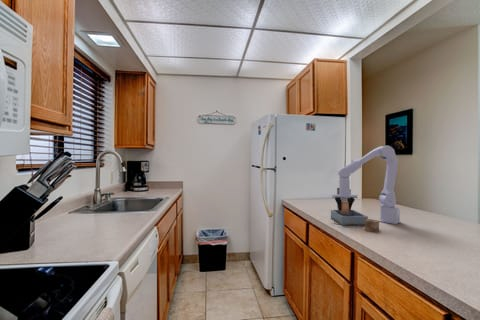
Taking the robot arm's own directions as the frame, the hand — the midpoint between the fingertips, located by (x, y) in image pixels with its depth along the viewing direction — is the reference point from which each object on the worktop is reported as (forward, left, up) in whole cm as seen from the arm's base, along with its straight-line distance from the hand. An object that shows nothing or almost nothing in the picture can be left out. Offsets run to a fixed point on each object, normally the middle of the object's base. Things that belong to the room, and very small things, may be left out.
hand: (344, 210), depth 148 cm
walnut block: (-19, +11, -6) cm, 23 cm away
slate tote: (-3, +2, -6) cm, 7 cm away
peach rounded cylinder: (0, 0, -2) cm, 2 cm away
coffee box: (+11, -24, -6) cm, 27 cm away
